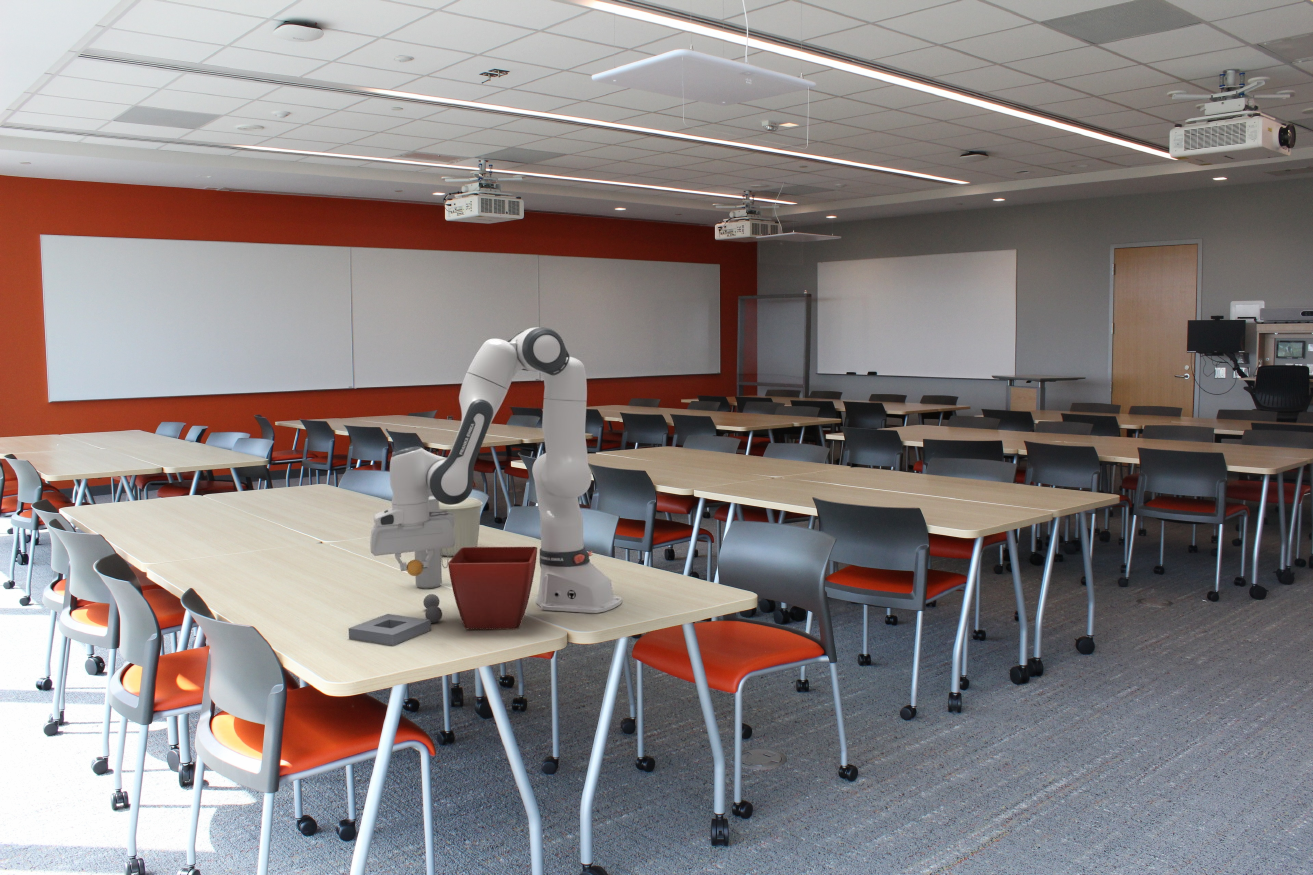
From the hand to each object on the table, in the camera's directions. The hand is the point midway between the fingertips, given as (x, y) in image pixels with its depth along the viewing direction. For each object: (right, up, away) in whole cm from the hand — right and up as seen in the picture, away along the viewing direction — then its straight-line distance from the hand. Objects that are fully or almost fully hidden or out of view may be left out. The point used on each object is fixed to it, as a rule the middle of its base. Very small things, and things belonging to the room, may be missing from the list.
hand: (414, 569), depth 232 cm
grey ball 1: (+2, -10, +8) cm, 13 cm away
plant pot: (+21, -13, -4) cm, 25 cm away
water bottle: (-4, -10, +33) cm, 35 cm away
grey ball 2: (+5, -11, -3) cm, 12 cm away
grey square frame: (-2, -13, -12) cm, 19 cm away
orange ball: (0, 0, 0) cm, 0 cm away
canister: (-6, -6, +77) cm, 77 cm away
